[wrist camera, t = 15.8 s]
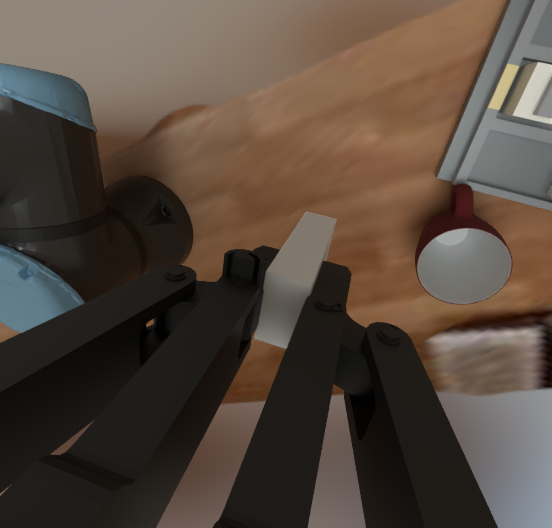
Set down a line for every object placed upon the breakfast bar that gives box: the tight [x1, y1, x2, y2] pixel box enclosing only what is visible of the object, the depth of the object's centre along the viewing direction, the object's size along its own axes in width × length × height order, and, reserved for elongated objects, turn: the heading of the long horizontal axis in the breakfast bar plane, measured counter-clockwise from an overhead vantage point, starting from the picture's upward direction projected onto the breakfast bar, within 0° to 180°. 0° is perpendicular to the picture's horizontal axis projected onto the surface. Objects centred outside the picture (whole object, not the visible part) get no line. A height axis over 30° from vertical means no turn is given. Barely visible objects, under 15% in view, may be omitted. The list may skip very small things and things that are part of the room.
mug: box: [415, 184, 512, 305], centre depth 37 cm, size 11×8×10 cm
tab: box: [500, 62, 552, 124], centre depth 30 cm, size 4×4×6 cm
